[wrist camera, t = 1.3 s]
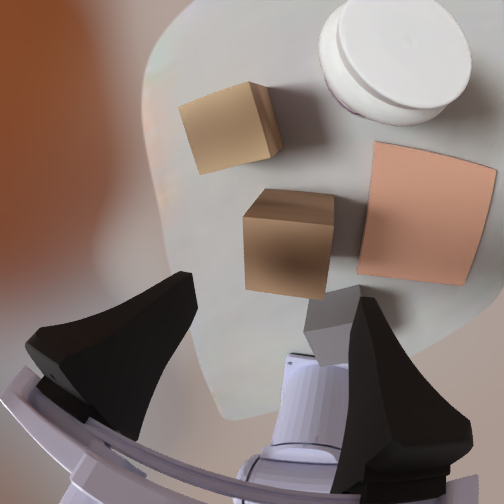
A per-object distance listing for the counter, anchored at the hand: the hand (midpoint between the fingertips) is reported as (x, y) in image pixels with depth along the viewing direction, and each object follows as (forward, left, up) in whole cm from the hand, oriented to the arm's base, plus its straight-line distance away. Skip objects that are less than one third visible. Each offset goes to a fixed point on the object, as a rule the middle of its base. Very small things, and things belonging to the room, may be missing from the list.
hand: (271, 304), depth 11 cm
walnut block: (0, 0, -8) cm, 8 cm away
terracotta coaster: (+1, -9, -8) cm, 12 cm away
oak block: (+6, +3, -8) cm, 11 cm away
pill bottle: (+10, -4, -9) cm, 14 cm away
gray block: (-7, -4, -8) cm, 12 cm away
